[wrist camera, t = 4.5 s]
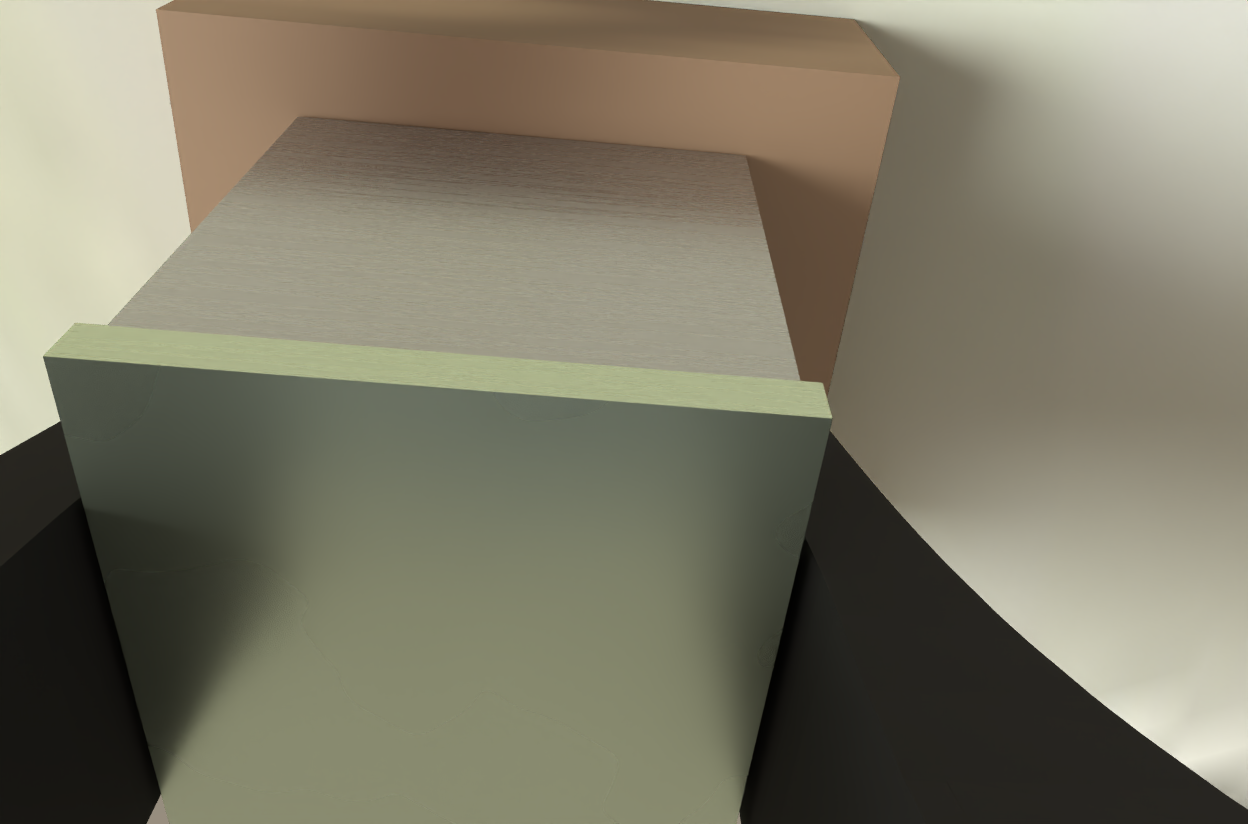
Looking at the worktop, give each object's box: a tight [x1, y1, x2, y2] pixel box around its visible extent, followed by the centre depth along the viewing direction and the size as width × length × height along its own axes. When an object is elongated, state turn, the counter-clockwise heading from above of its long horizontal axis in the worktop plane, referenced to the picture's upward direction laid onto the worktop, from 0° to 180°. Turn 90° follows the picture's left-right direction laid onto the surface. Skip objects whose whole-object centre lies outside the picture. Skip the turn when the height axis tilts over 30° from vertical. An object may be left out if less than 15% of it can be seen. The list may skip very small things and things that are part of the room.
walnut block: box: [156, 0, 900, 397], centre depth 13 cm, size 7×7×2 cm
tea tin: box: [43, 117, 833, 824], centre depth 9 cm, size 5×5×5 cm
